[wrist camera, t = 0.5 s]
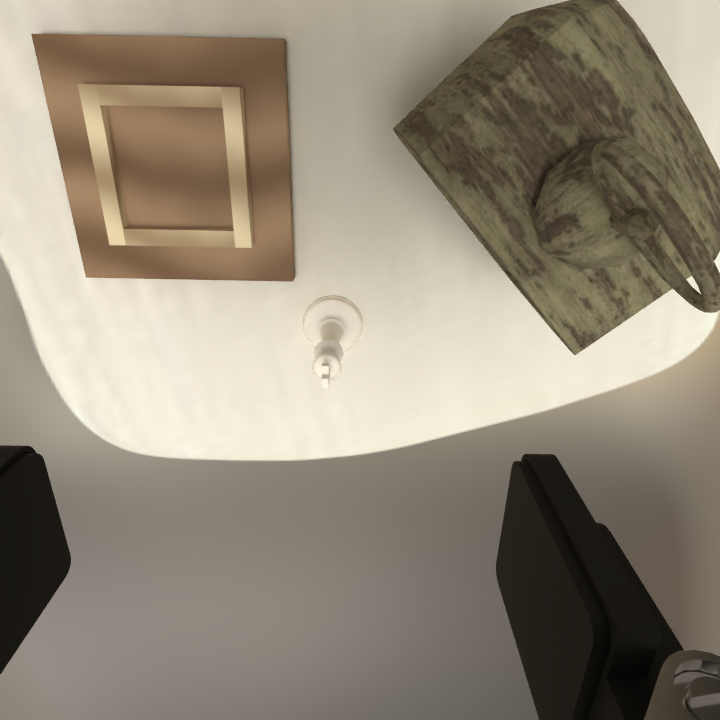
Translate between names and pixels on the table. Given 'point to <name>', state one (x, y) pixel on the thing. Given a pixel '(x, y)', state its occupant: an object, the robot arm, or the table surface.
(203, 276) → the walnut plate
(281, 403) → the table surface
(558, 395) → the table surface
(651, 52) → the tabletop clock
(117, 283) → the table surface
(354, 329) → the chess piece
